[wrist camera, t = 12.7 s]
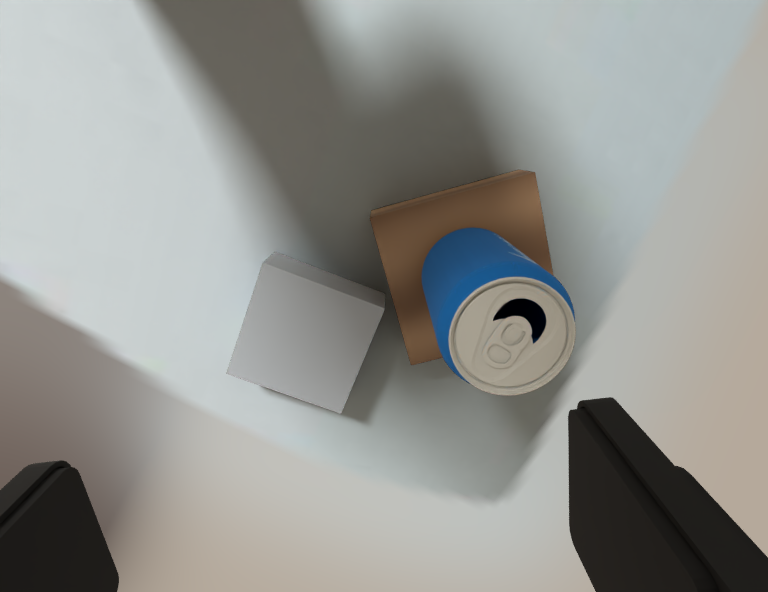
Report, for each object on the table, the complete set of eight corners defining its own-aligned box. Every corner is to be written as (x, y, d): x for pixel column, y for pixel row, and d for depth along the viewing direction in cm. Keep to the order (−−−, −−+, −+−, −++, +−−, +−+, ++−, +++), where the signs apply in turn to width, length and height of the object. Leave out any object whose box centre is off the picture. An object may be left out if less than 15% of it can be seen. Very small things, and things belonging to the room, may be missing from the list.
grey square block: (275, 250, 37) (262, 262, 33) (385, 292, 38) (385, 308, 34) (241, 351, 39) (226, 373, 36) (345, 388, 40) (340, 413, 37)
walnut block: (371, 210, 36) (369, 217, 32) (518, 169, 35) (534, 172, 31) (408, 344, 39) (411, 365, 35) (544, 309, 38) (562, 327, 34)
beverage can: (534, 256, 33) (616, 314, 21) (481, 334, 34) (529, 426, 23) (453, 207, 32) (492, 240, 20) (403, 289, 33) (411, 362, 22)
